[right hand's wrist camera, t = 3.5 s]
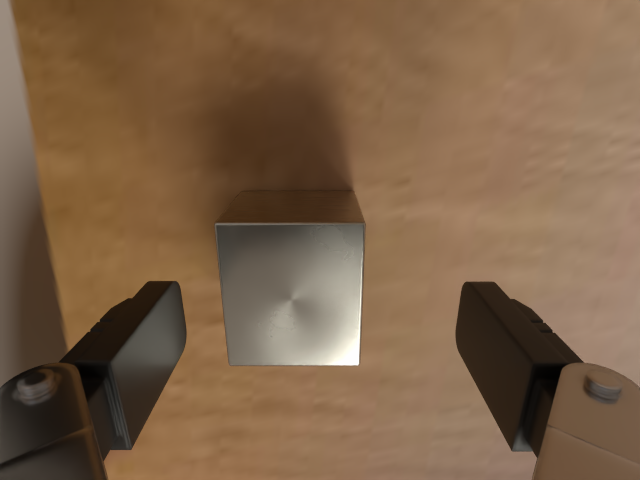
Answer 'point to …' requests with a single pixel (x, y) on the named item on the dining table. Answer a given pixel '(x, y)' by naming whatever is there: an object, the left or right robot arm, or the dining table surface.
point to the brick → (292, 278)
